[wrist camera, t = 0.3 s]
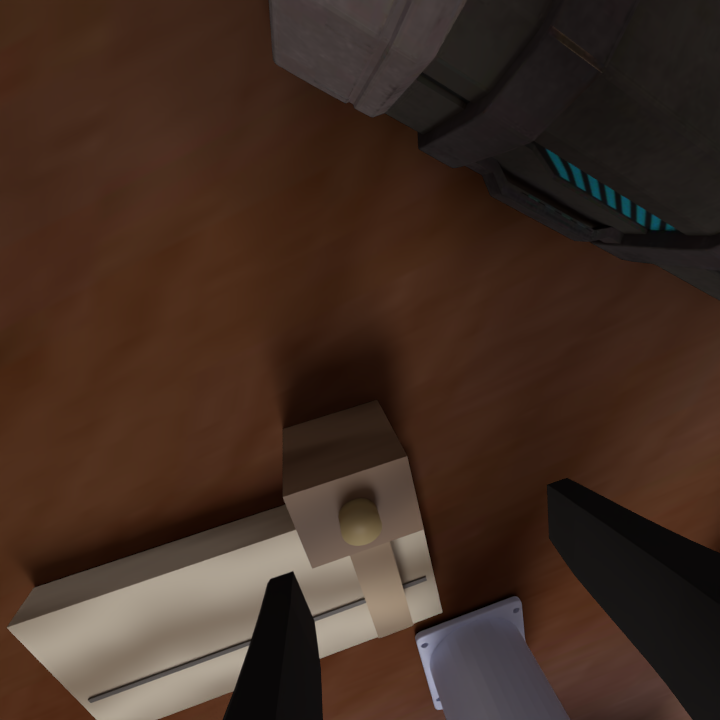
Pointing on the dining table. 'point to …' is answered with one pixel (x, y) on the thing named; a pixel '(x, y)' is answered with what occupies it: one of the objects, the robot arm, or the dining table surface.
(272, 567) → the board
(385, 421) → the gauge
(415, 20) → the black flashlight
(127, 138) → the dining table surface
